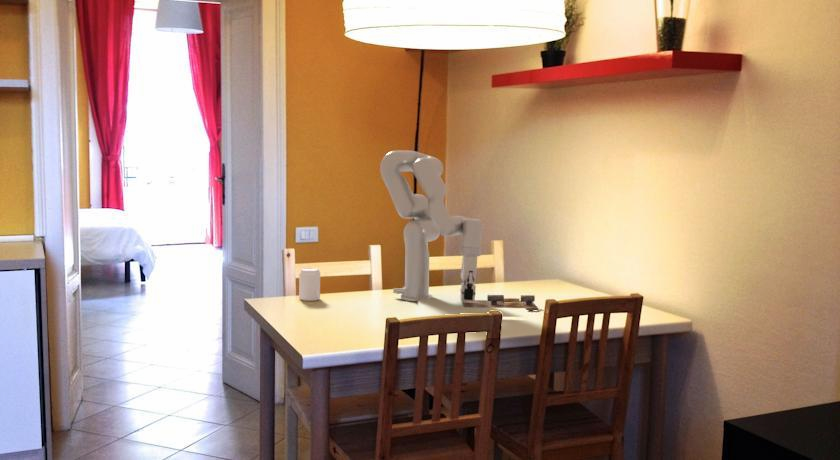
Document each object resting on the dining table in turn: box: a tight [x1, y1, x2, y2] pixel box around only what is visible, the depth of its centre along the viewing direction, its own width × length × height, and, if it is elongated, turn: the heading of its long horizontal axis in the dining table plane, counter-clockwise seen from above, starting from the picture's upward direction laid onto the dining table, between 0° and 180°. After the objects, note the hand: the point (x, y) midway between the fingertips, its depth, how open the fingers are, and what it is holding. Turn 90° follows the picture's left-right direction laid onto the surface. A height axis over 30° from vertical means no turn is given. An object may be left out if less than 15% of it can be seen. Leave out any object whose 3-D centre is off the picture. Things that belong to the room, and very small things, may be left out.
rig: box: [460, 294, 539, 311], centre depth 306 cm, size 28×13×5 cm, turn 93°
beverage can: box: [298, 267, 321, 302], centre depth 311 cm, size 8×8×12 cm
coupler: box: [459, 281, 477, 302], centre depth 305 cm, size 5×5×6 cm
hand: (467, 297), depth 306 cm, fingers closed on coupler, 5 cm apart
